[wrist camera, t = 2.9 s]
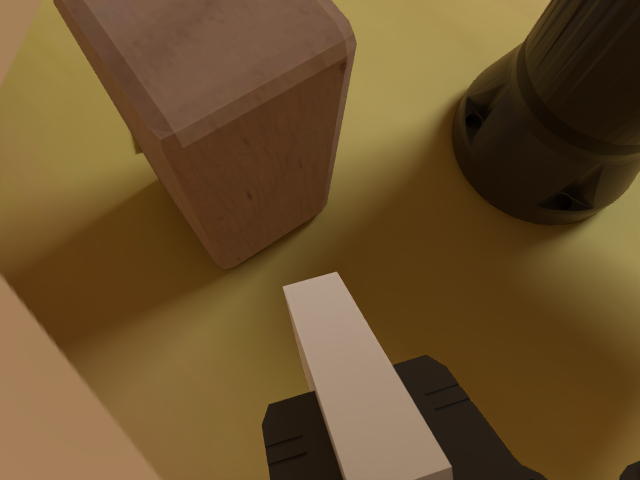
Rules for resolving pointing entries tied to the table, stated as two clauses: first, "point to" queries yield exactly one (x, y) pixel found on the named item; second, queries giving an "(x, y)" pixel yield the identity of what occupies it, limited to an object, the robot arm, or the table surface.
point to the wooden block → (227, 105)
